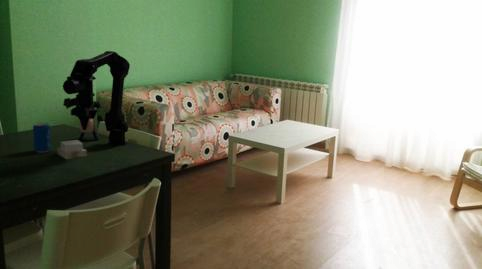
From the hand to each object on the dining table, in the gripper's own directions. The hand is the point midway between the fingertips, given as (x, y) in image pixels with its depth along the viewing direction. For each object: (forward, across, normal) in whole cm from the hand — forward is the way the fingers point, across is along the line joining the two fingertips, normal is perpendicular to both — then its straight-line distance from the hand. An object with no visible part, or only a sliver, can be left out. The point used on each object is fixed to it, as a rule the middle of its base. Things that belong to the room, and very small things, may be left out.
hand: (86, 128), depth 185 cm
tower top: (+10, -1, -7) cm, 12 cm away
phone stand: (+12, -28, -9) cm, 32 cm away
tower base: (+13, -1, -7) cm, 14 cm away
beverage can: (+12, -4, -21) cm, 24 cm away
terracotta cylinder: (+1, 0, 0) cm, 1 cm away
